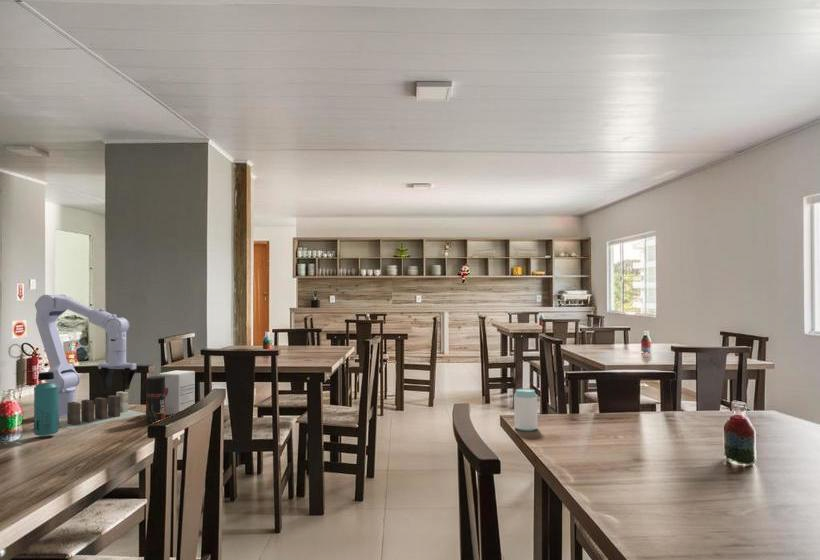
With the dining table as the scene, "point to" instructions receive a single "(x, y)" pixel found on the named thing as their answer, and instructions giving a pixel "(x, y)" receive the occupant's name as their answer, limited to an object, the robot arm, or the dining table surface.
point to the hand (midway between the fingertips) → (117, 389)
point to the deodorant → (155, 398)
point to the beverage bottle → (46, 406)
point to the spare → (123, 401)
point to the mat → (98, 421)
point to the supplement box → (178, 390)
